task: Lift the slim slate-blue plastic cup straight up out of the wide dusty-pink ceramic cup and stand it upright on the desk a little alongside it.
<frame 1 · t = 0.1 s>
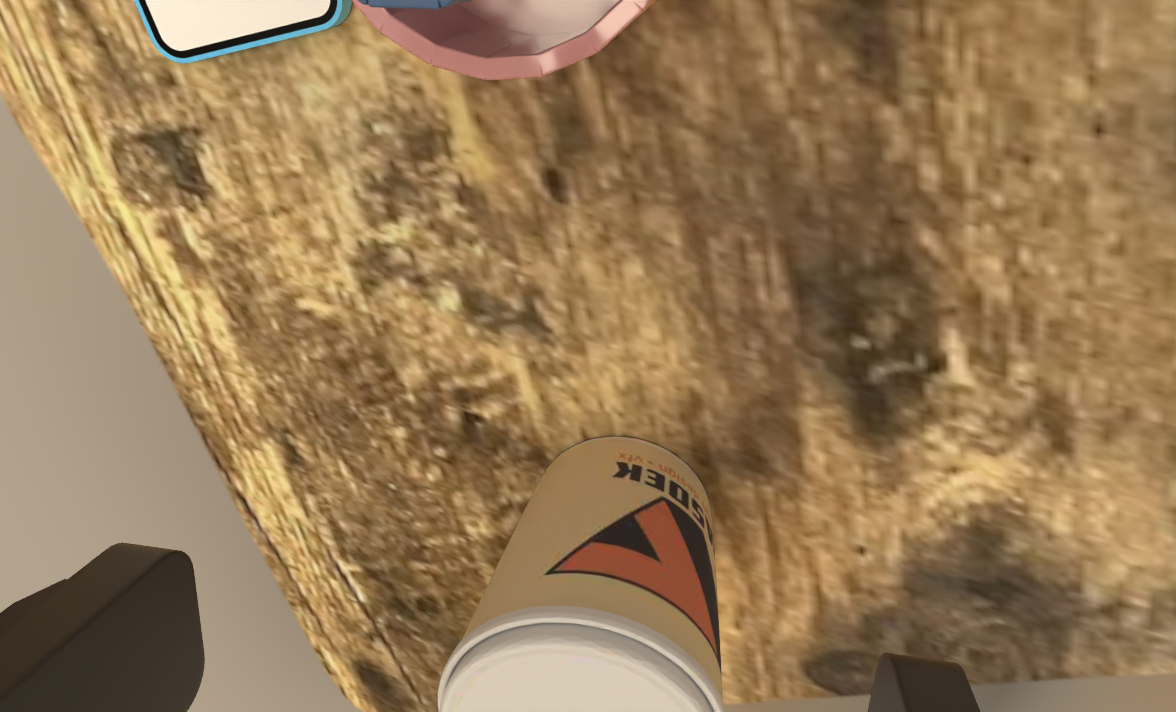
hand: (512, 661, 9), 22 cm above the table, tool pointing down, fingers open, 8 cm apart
coffee cup: (623, 506, 36), on the table
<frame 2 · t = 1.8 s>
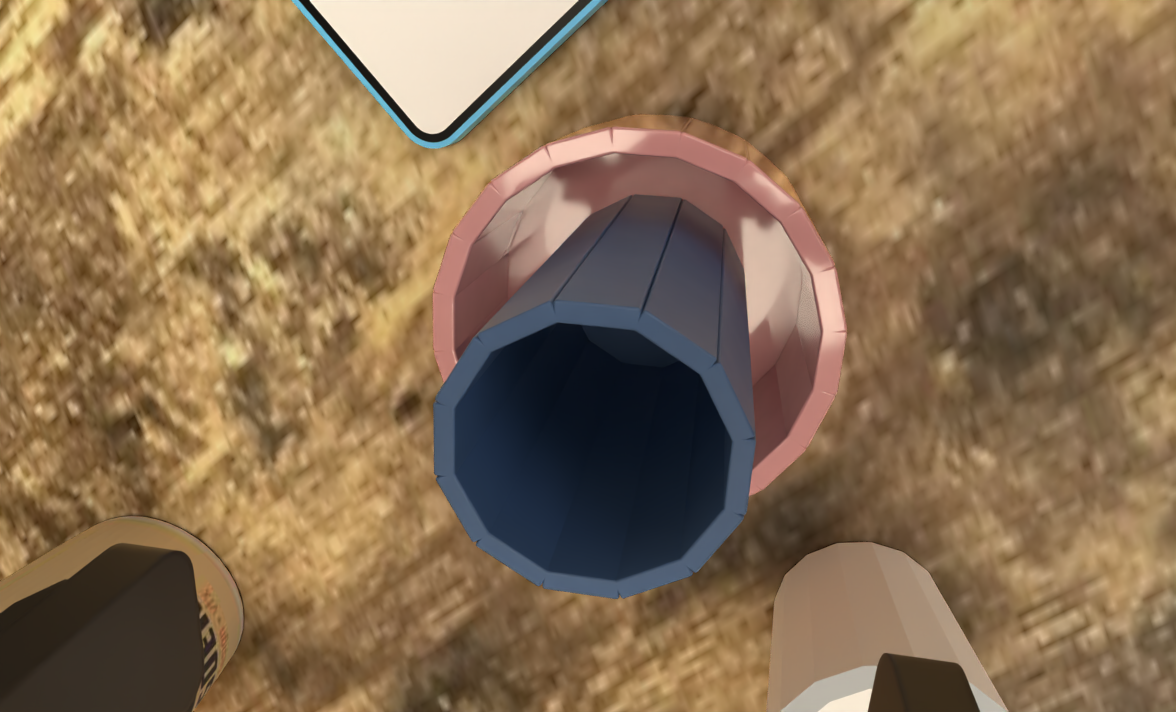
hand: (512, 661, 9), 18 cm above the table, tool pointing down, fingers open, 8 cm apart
pink cup: (651, 282, 26), on the table, touching blue cup
blue cup: (650, 286, 25), resting on pink cup
coffee cup: (160, 594, 34), on the table
white cylinder: (856, 608, 29), on the table
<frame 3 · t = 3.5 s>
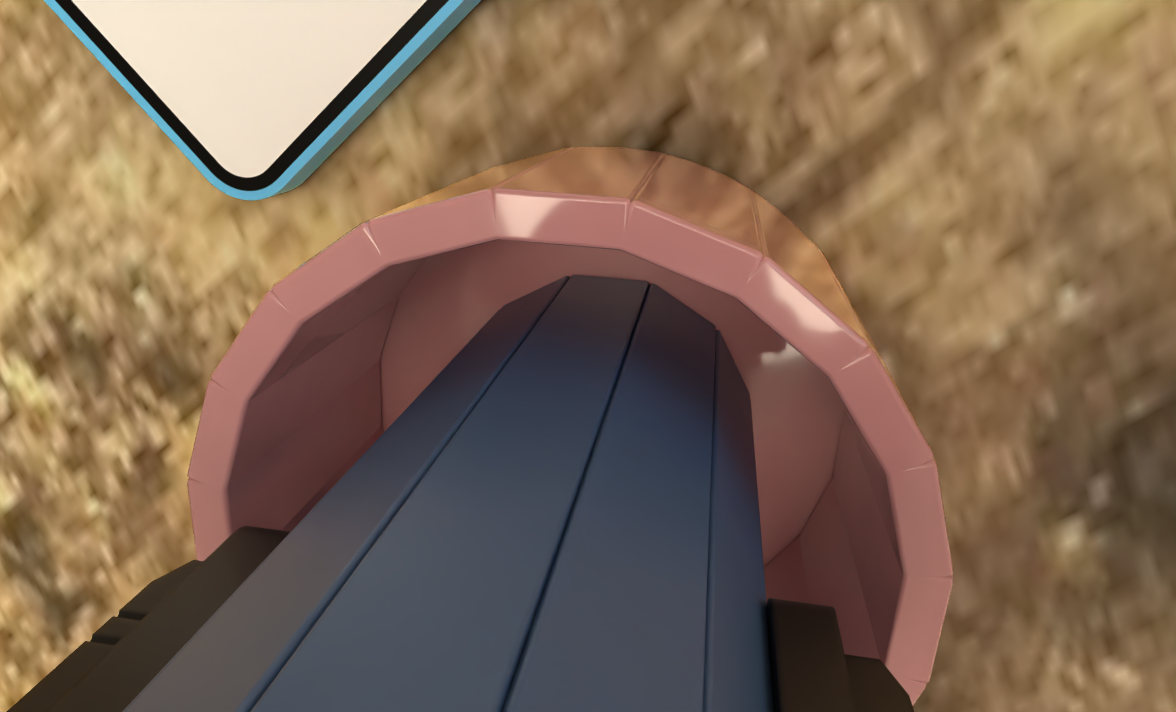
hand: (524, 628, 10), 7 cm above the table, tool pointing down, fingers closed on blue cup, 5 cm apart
pink cup: (605, 406, 17), on the table, touching blue cup
blue cup: (601, 416, 16), resting on pink cup, touching gripper
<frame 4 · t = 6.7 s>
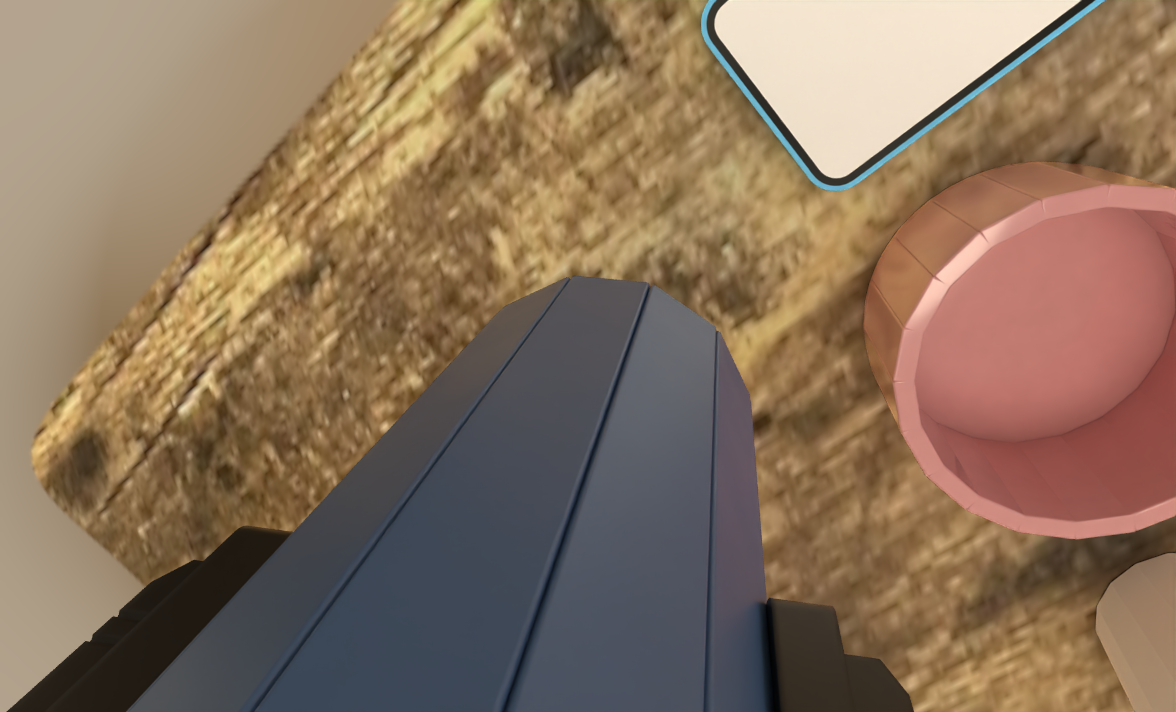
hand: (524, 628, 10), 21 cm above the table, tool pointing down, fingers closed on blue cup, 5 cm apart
pink cup: (1019, 313, 28), on the table
blue cup: (601, 417, 16), point 14 cm above the table, touching gripper
white cylinder: (1174, 613, 31), on the table
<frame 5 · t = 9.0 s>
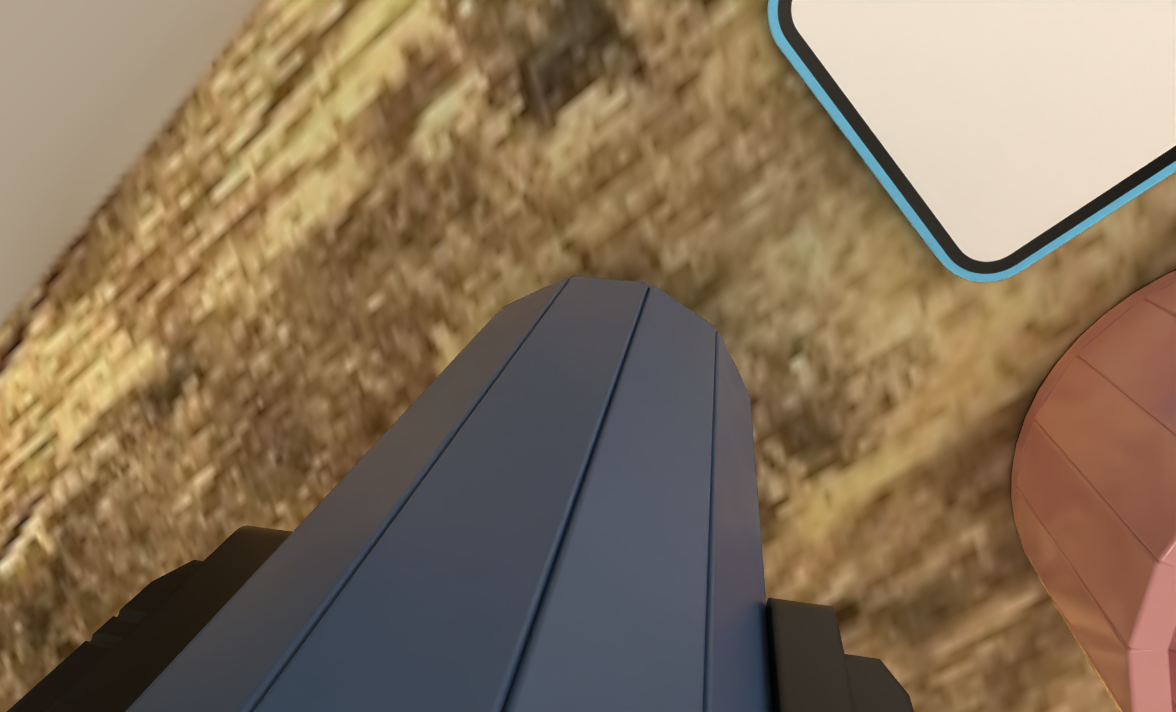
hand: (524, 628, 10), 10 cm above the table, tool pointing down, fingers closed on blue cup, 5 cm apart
blue cup: (601, 417, 16), point 3 cm above the table, touching gripper
when the fingers open (7 cm above the table, at t = 10.3 s): blue cup stays where it is, on the table.
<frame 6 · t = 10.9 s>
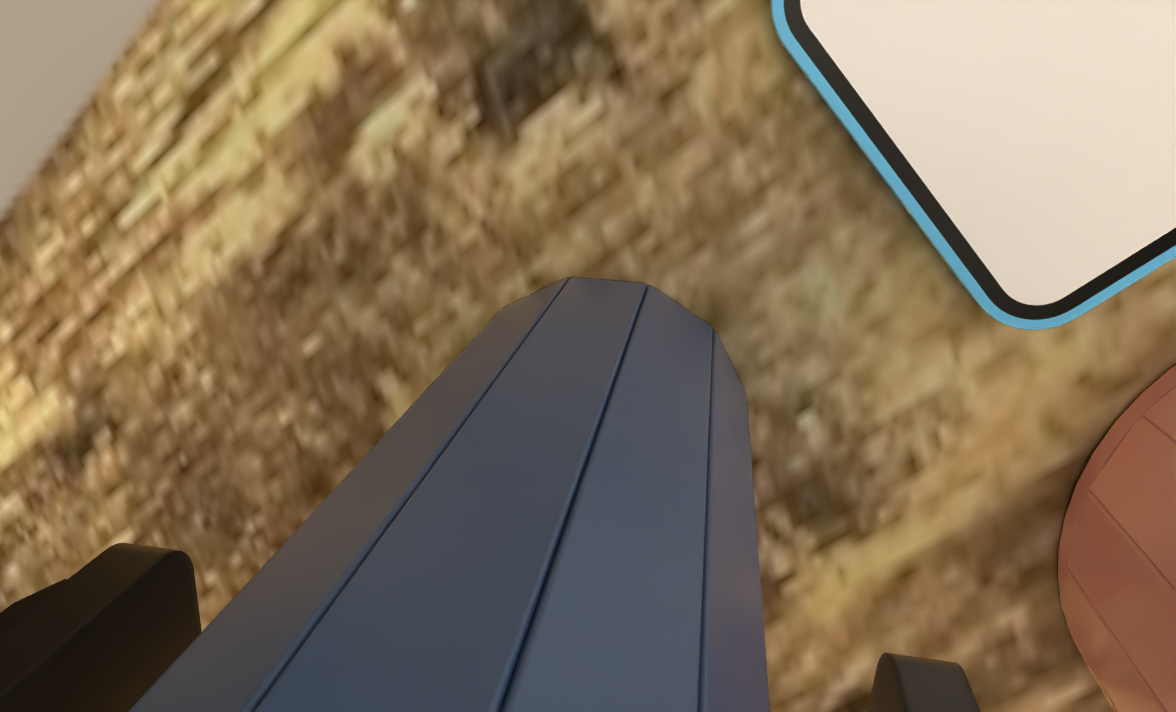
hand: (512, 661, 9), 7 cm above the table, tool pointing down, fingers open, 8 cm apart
blue cup: (600, 416, 16), on the table
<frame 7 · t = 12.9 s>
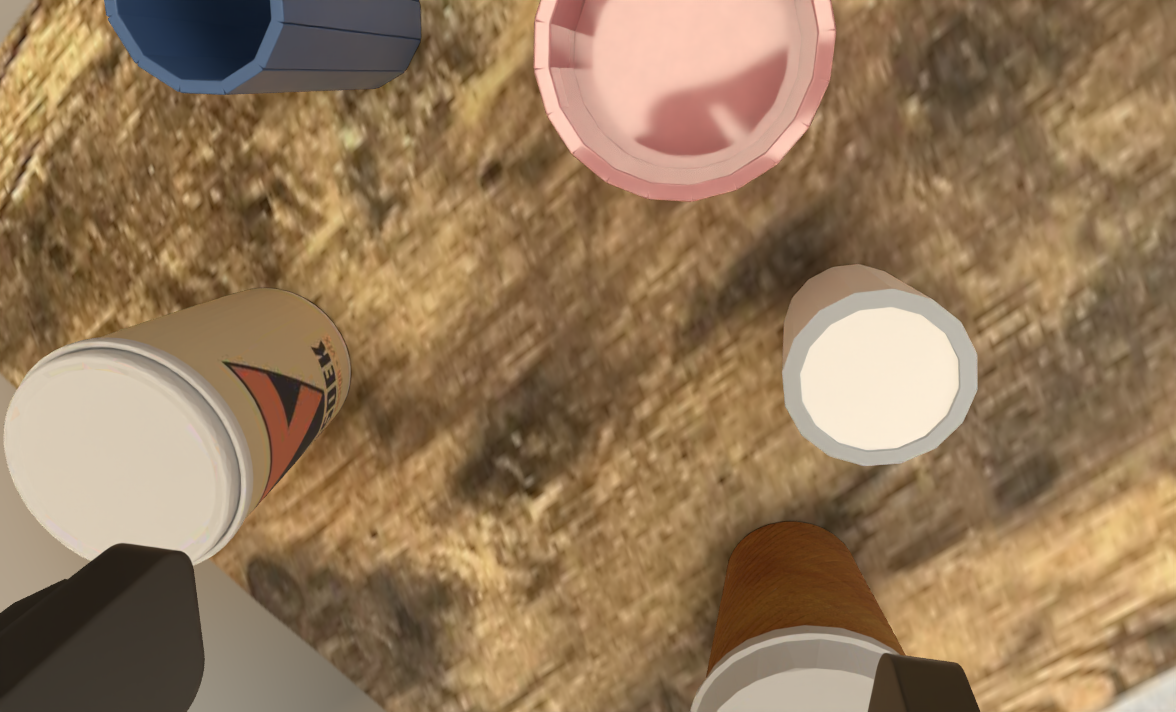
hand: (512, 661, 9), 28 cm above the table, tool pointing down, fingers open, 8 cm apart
pink cup: (685, 54, 34), on the table
blue cup: (357, 18, 35), on the table
disposable coffee cup: (790, 574, 41), on the table
coffee cup: (280, 360, 41), on the table
white cylinder: (848, 325, 37), on the table
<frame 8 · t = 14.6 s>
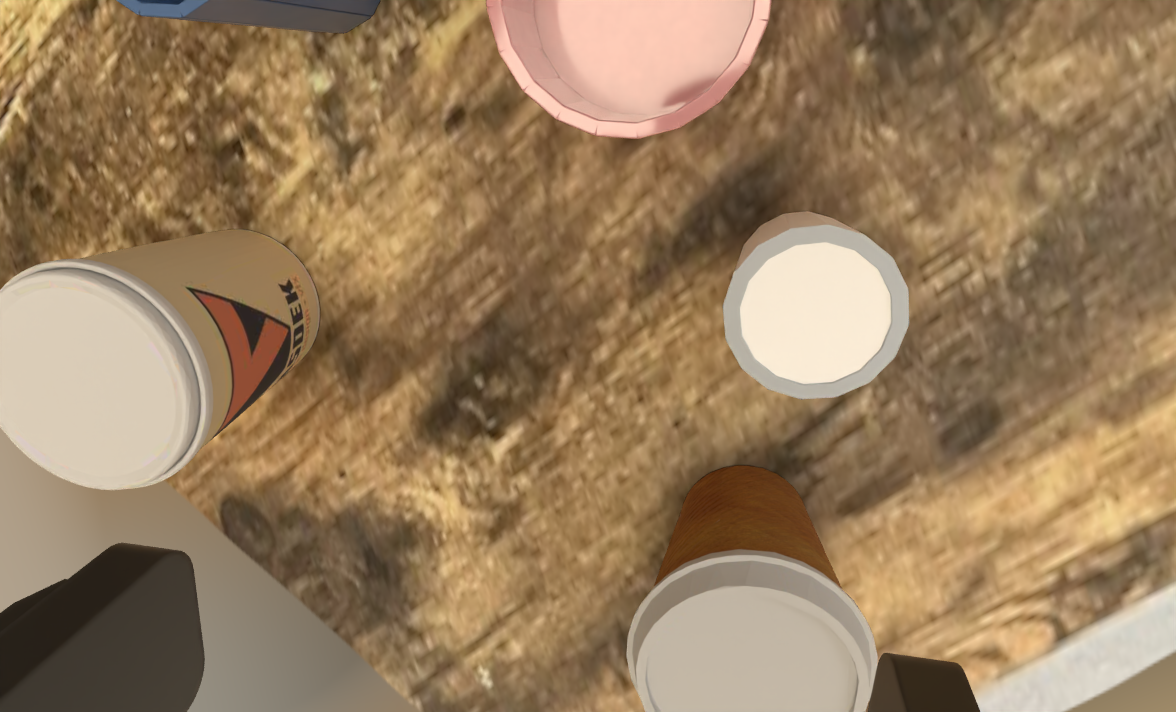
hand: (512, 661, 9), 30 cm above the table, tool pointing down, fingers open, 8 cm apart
pink cup: (641, 2, 35), on the table
disposable coffee cup: (743, 518, 42), on the table
coffee cup: (252, 301, 42), on the table
white cylinder: (798, 272, 38), on the table
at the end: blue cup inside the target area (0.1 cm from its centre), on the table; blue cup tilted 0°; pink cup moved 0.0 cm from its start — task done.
